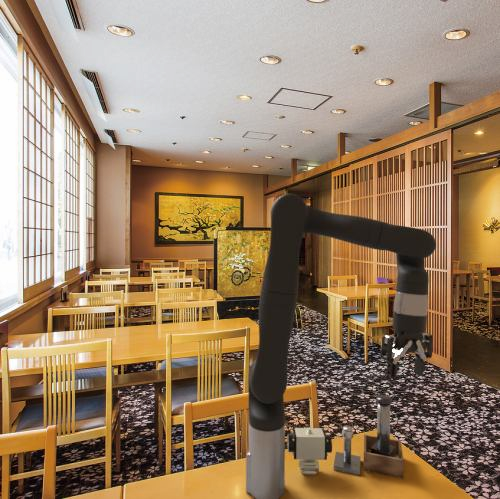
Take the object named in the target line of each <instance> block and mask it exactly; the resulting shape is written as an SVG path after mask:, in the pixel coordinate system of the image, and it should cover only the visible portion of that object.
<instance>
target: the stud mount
mask: <svg viewBox="0 0 500 499" xmlns="http://www.w3.org/2000/svg"><path fill="white" fill-rule="evenodd" d="M341 435H342V437H343V452H340V451H335V455H334V461H333V471H337V472H341V473H347V474H352V475H357V476H361V460H362V459H361V455H355V454H352V439H353V438H354V431H353V426H350V425H343V426H342V431H341Z"/></svg>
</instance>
